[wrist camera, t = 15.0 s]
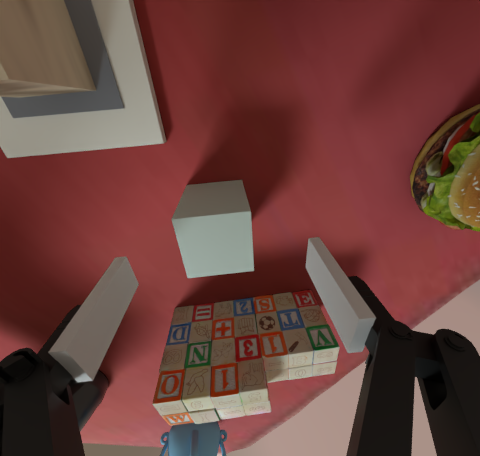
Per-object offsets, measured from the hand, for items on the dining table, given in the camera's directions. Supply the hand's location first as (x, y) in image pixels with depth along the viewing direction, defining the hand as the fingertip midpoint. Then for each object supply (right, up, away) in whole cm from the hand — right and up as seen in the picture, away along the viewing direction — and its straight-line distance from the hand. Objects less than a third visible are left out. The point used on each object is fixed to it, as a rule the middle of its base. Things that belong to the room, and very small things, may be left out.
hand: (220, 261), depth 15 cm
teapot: (-10, -45, +37) cm, 60 cm away
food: (+27, +11, +8) cm, 30 cm away
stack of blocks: (+2, -11, +18) cm, 21 cm away
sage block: (-1, +5, +9) cm, 10 cm away
